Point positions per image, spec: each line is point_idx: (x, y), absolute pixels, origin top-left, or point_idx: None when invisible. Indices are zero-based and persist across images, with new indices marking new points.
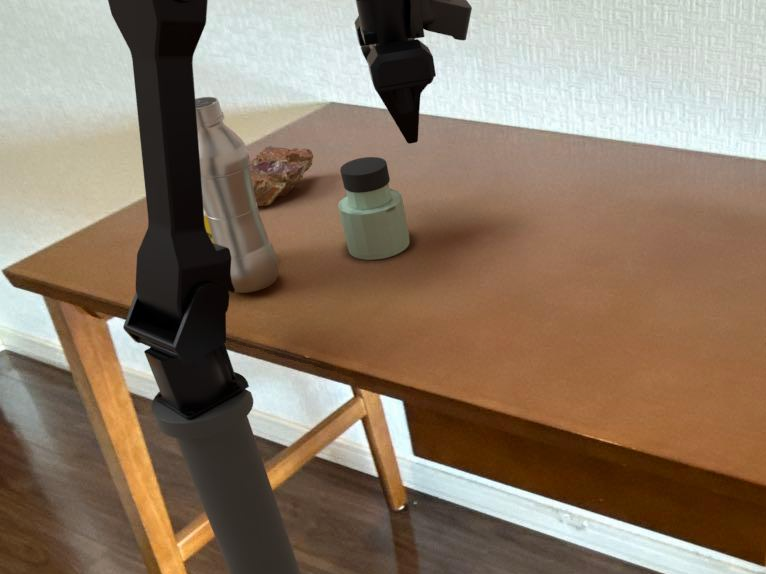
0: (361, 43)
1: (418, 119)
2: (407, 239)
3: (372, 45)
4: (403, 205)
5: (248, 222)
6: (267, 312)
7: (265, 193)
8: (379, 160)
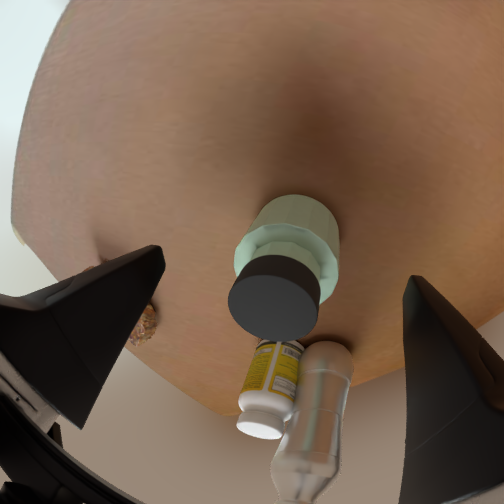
0: (58, 433)
1: (465, 320)
2: (316, 203)
3: (50, 420)
4: (289, 215)
5: (341, 407)
6: (385, 349)
7: (147, 314)
8: (257, 284)
